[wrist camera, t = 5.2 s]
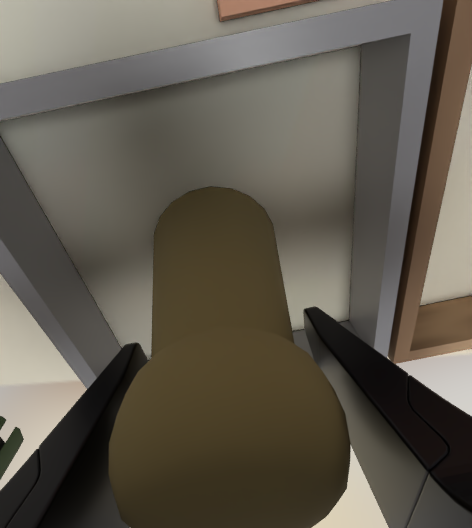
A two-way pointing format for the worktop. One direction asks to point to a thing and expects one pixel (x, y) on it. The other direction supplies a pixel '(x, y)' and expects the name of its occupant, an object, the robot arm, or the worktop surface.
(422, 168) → the walnut bin
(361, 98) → the charcoal bin
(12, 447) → the character mug
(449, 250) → the worktop surface
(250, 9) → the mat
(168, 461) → the cork
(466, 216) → the worktop surface
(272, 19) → the worktop surface
